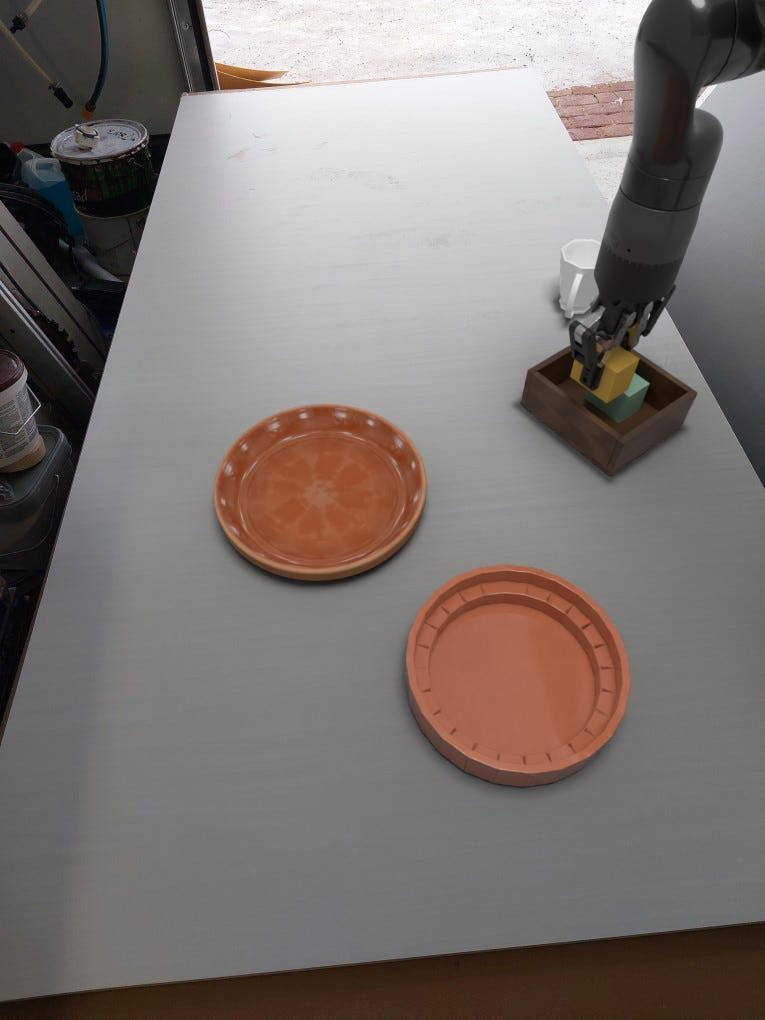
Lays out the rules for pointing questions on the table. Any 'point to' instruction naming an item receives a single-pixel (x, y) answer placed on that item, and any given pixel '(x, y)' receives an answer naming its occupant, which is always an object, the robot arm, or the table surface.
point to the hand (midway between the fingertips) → (601, 377)
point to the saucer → (320, 492)
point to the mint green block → (622, 400)
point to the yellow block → (611, 374)
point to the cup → (578, 275)
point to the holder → (594, 430)
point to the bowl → (516, 674)
